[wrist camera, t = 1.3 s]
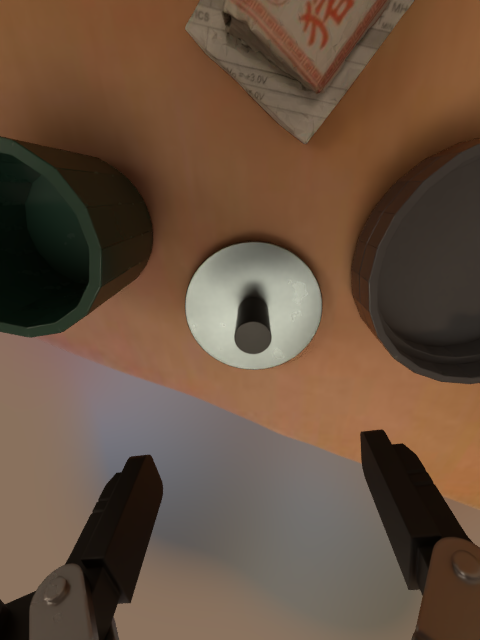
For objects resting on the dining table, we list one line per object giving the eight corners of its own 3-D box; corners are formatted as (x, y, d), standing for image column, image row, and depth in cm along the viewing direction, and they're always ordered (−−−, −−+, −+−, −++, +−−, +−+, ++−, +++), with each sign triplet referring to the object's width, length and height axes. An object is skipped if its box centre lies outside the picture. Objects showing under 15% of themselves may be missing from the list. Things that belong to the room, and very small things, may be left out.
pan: (344, 166, 22) (365, 160, 18) (609, 111, 20) (703, 90, 16) (353, 366, 28) (371, 396, 24) (553, 339, 26) (609, 367, 22)
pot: (-3, 170, 23) (-150, 158, 14) (127, 139, 22) (49, 107, 13) (56, 299, 27) (-32, 348, 18) (168, 279, 26) (128, 321, 17)
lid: (172, 253, 25) (148, 272, 19) (313, 227, 23) (331, 238, 18) (204, 371, 29) (192, 413, 24) (324, 354, 28) (342, 395, 22)
